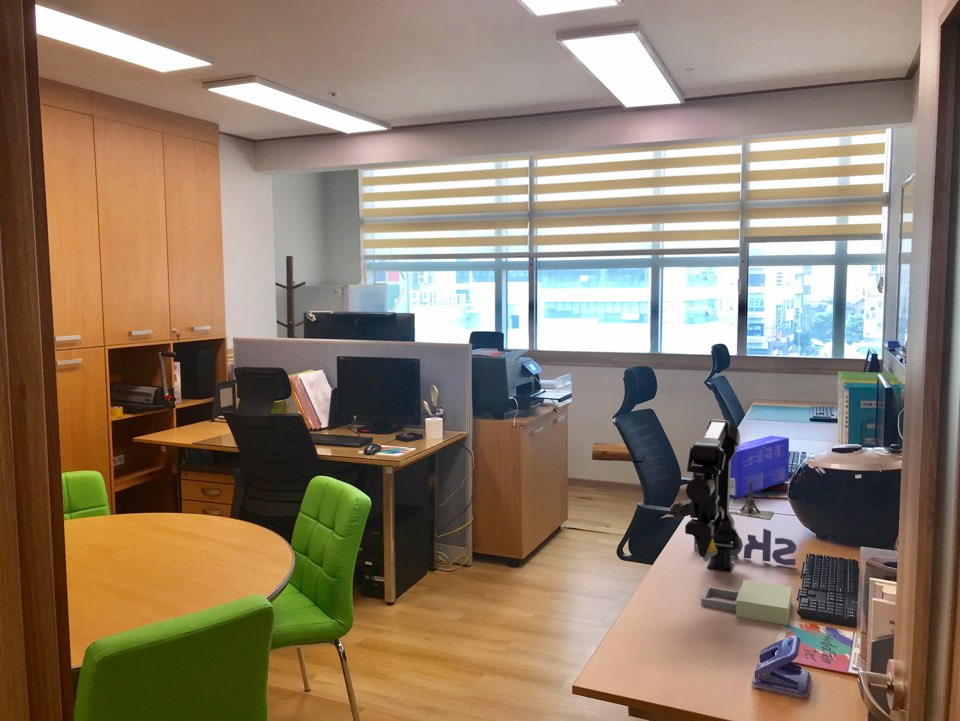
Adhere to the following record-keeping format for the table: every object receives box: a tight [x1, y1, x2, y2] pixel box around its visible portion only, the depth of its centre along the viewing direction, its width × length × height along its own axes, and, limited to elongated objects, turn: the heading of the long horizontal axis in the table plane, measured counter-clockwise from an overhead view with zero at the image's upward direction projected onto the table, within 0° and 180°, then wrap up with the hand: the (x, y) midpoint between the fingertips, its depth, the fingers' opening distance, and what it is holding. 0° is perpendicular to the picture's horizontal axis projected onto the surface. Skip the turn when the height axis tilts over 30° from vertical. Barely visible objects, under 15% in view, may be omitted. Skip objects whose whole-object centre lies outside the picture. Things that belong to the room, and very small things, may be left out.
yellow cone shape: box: [694, 538, 717, 562], centre depth 187 cm, size 5×5×10 cm
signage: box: [693, 528, 797, 566], centre depth 217 cm, size 28×1×10 cm, turn 62°
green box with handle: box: [700, 579, 793, 626], centre depth 184 cm, size 14×20×4 cm
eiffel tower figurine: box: [729, 479, 774, 520], centre depth 263 cm, size 15×10×13 cm
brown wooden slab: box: [591, 442, 633, 463], centre depth 350 cm, size 23×19×6 cm
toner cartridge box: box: [729, 435, 790, 499], centre depth 295 cm, size 39×8×18 cm, turn 129°
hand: (704, 553), depth 188 cm, fingers closed on yellow cone shape, 5 cm apart
